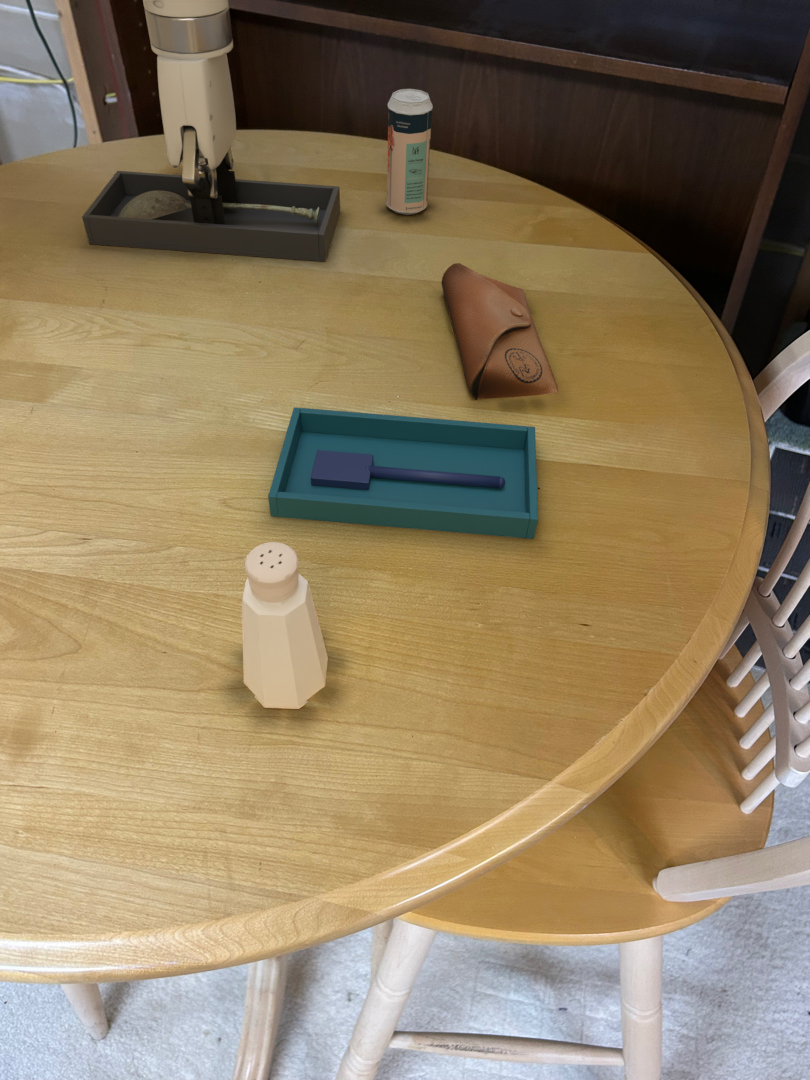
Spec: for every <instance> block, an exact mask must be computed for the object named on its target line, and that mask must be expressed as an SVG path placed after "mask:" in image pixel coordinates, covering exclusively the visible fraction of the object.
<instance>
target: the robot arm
mask: <svg viewBox="0 0 810 1080" xmlns="http://www.w3.org/2000/svg"><path fill="white" fill-rule="evenodd" d="M142 2H143V7H144V14H145V19H146V26H147V31H148V36H149V41H150V42H149V43H150V47H151V51H152V52H153V53H154V54H156V55H157V57H156V68H157V83H158V84H157V85H158V97H159V105H160V113H161V120H162V127H163V135H164V143H165V148H166V149H165V150H166V155H167V161H168V163H169V165H170V166H171V167H172V168H175V169H176V168H178V167H180V165H181V164H182V165H181V167H182V168H181V169H182V170H181V175H182V181H183V184H185V185H186V187H187V188H188V195H189V197H190V202H191V207H192V213H193V219H194V222H195V223H209V224H222V225H225V218H224V211H223V204H222V203H238V196H237V188H236V180H235V179H236V173H235V172H236V171H235V170H234V166H235V163H234V157H233V156H234V155H233V153H232V152H233V151H232V148H231V147H232V145H233V143H234V140H235V138H236V134H237V119H236V108H235V107H236V106H235V101H234V92H233V85H232V79H231V73H230V67H229V59H228V55H227V54H228V53H230V52H231V51H232V50H233V48H234V39H233V33H232V23H231V13H230V6H229V0H142ZM199 158H203V159H205V162H206V164H199ZM199 172H204V174H205V178H201V176H200V175H199ZM226 209H229V208H226Z"/></svg>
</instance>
